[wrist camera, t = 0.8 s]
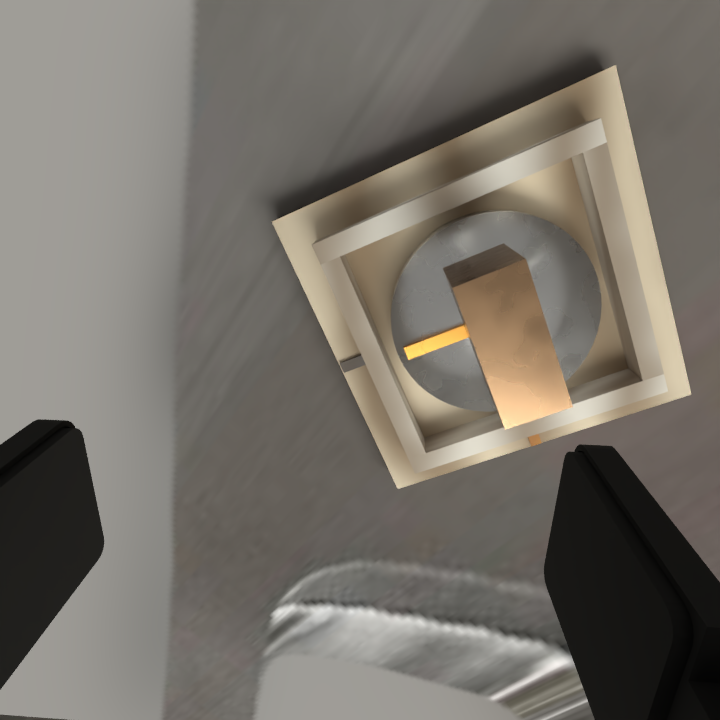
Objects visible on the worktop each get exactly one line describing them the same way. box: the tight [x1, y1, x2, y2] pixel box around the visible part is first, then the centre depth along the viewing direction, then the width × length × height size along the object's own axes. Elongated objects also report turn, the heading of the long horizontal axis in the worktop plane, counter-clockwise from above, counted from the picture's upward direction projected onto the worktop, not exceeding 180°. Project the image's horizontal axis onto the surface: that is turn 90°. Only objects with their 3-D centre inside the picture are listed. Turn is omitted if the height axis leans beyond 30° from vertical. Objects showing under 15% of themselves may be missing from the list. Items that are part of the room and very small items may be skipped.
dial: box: [391, 210, 602, 430], centre depth 28 cm, size 12×12×7 cm
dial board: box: [272, 65, 691, 489], centre depth 31 cm, size 20×20×4 cm
